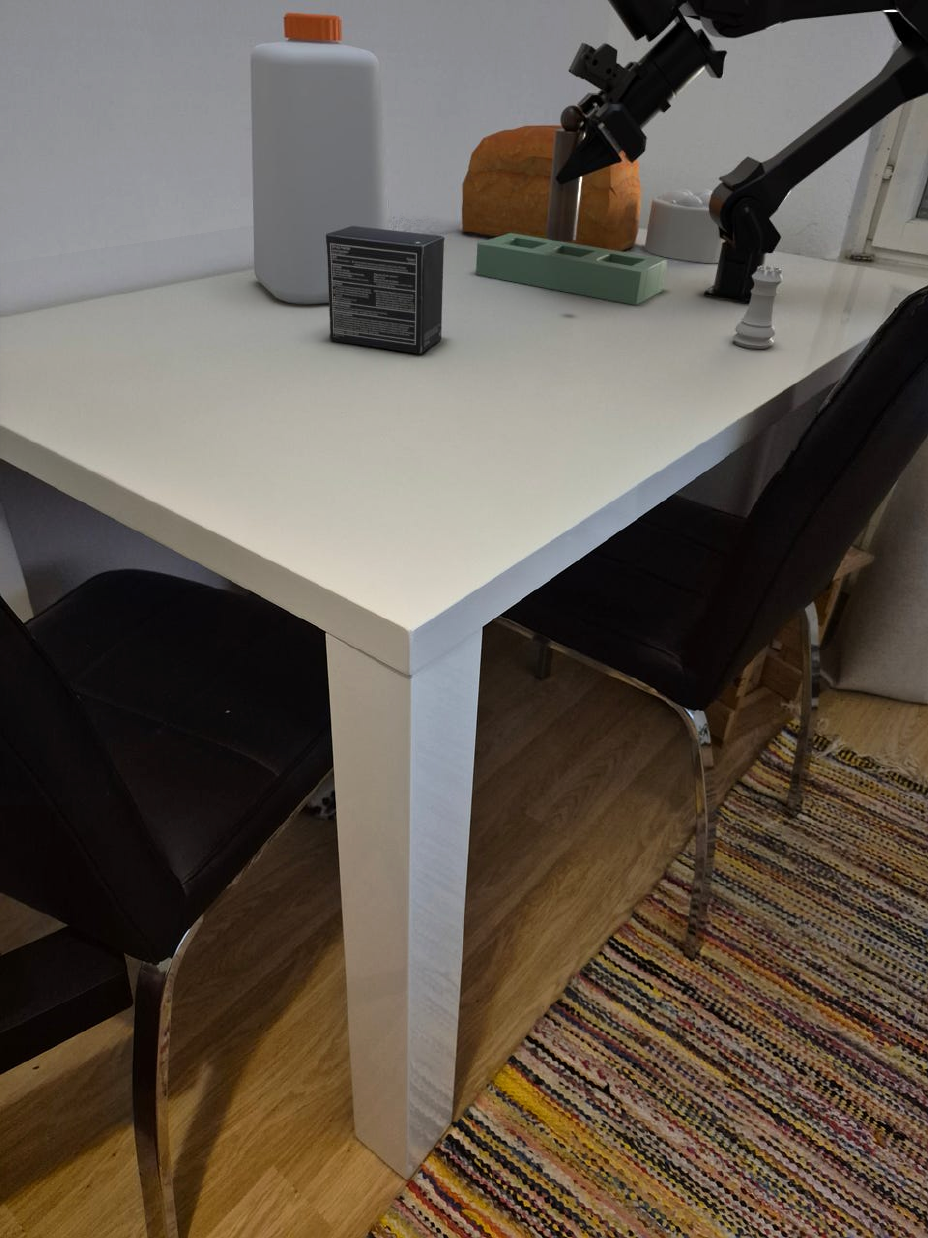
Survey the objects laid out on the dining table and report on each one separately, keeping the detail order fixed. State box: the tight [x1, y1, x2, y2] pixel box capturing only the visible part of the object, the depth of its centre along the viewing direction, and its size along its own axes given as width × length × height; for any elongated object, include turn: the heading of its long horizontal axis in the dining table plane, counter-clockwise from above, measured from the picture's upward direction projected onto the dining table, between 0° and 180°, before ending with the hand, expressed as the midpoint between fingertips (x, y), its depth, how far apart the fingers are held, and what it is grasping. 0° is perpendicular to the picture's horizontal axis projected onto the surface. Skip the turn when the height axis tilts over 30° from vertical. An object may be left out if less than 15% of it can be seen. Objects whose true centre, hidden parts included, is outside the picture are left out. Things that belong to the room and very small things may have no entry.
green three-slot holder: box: [475, 233, 668, 306], centre depth 115 cm, size 9×23×4 cm, turn 59°
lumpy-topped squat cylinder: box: [644, 187, 725, 264], centre depth 133 cm, size 10×13×9 cm
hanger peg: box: [546, 104, 585, 242], centre depth 106 cm, size 4×4×15 cm
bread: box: [461, 124, 642, 252], centre depth 135 cm, size 16×27×16 cm, turn 62°
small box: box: [326, 226, 445, 355], centre depth 89 cm, size 11×6×10 cm, turn 71°
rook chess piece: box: [732, 265, 784, 350], centre depth 95 cm, size 4×4×8 cm
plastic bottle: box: [250, 12, 391, 305], centre depth 100 cm, size 15×15×28 cm
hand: (555, 178), depth 107 cm, fingers closed on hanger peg, 4 cm apart
